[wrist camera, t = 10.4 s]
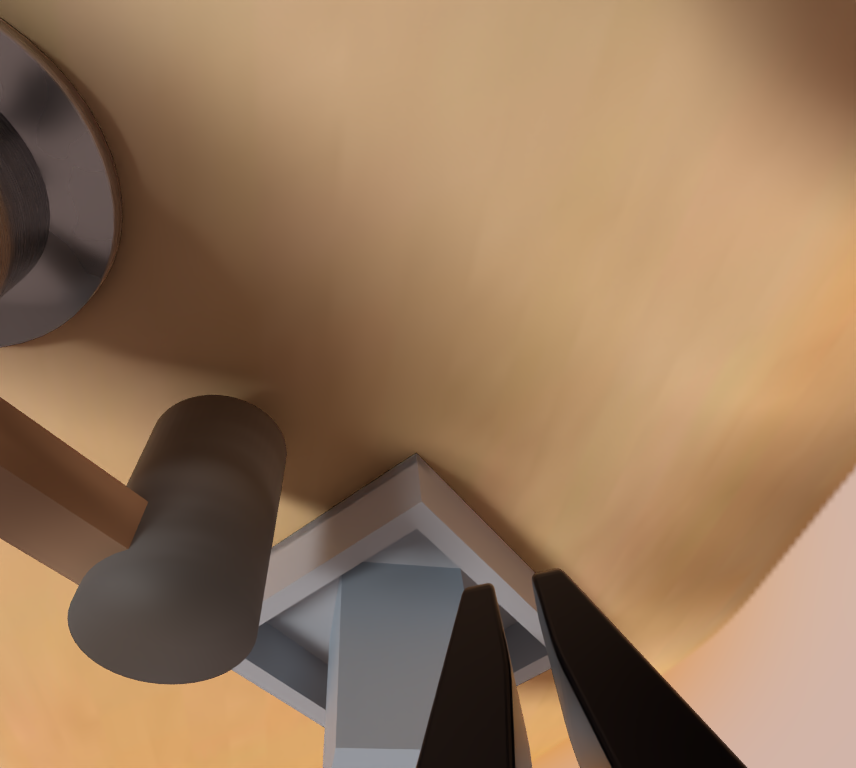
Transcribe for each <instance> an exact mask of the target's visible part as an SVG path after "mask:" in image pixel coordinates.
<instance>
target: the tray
mask: <svg viewBox="0 0 856 768" xmlns="http://www.w3.org/2000/svg"><path fill="white" fill-rule="evenodd" d="M362 562H374V563H388V564H403V565H418V566H432V567H447V568H460V569H461V575H462V581H463V586H464V589H465V588H467V587H471V586H476V585H480V584H485V583H490V584H492V585H493V586H494V588H495V592H496V597H497V601H498V606H499V610H500V615H501V619H502V624H503V628H504V632H505V637H506V642H507V646H508V651H509V655H510V660H511V664H512V669H513V673H514V678H515V682H516V686H518V685H520V684H522V683H524V682H525V681H527V680H529V679H531V678H533V677H535V676H537V675H539V674H541V673H543V672H545V671H547V670H549V669H551V666H550V662H549V658H548V654H547V650H546V646H545V642H544V638H543V634H542V631H541V626H540V622H539V618H538V613H537V607H536V602H535V596H534V590H533V585H532V576H533V575H534V574H535V572H534V571H533V570H532V569H531V568H530V567H529V566H528V565H527V564H526V563H525V562H524V561H523V560H522V559H521V558H520V557H519V556H518V555H517V554H516V553H515V552H514V551H513V550H512V549H511V548H510V547H509V546H508V545H507V544H506V543H505V542H504V541H503V540H502V539H501V538H500V537H499V536H498V535H497V534H496V533H495V532H494V531H493V530H492V529H491V528H490V527H489V526H488V525H487V524H486V523H485V522H484V521H483V520H482V519H481V518H480V517H479V516H478V515H477V514H476V513H475V512H474V511H473V510H472V509H471V508H470V507H469V506H468V505H467V504H466V503H465V502H464V501H463V500H462V499H461V498H460V497H459V496H458V495H457V494H456V493H455V492H454V491H453V490H452V489H451V488H450V487H449V486H448V485H447V484H446V483H445V482H444V481H443V480H442V479H441V478H440V476H439V475H438V474H437V473H436V472H435V471H434V470H433V469H432V468H431V467H430V466H429V465H428V464H427V463H426V462H425V461H424V460H423V459H422V458H421V457H420V456H419V455H418V454H417V453H415V454H414V455H412V456H411V457H409V458H408V459H406V460H405V461H403V462H402V463H400V464H398V465H397V466H395V467H394V468H392V469H391V470H389V471H388V472H386V473H385V474H383V475H382V476H380V477H379V478H377V479H376V480H374V481H373V482H371V483H370V484H368V485H366V486H365V487H363V488H362V489H360V490H359V491H357V492H356V493H354V494H353V495H351V496H350V497H348V498H347V499H345V500H344V501H342V502H341V503H339V504H338V505H336V506H334V507H333V508H331V509H330V510H328V511H327V512H325V513H324V514H322V515H321V516H319V517H318V518H316V519H315V520H313V521H312V522H310V523H309V524H307V525H306V526H304V527H302V528H301V529H299V530H298V531H296V532H295V533H293V534H292V535H290V536H289V537H287V538H286V539H284V540H283V541H281V542H280V543H278V544H277V545H275V546H274V547H272V549H271V555H270V561H269V567H268V573H267V579H266V585H265V591H264V597H263V604H262V610H261V616H260V622H259V628H258V634H257V639H256V642H255V645H254V647H253V649H252V651H251V652H250V653H249V655H248V656H247V657H246V658H245V659H244V660H243V661H242V662H241V663H240V664H239V665H237V666H236V667H235V668H233V669H232V670H233V671H235V672H236V673H238V674H239V675H241V676H243V677H244V678H246V679H247V680H249V681H251V682H252V683H254V684H255V685H257V686H259V687H260V688H262V689H263V690H265V691H267V692H268V693H270V694H271V695H273V696H275V697H276V698H278V699H279V700H281V701H283V702H284V703H286V704H288V705H289V706H291V707H292V708H294V709H296V710H297V711H299V712H300V713H302V714H304V715H305V716H307V717H308V718H310V719H312V720H313V721H315V722H316V723H318V724H320V725H321V726H323V727H324V728H325V716H326V697H327V678H328V659H329V640H330V634H331V627H332V621H333V615H334V609H335V603H336V597H337V591H338V584H339V578H340V576H341V575H342V574H344V573H345V572H347V571H349V570H350V569H352V568H354V567H355V566H357V565H358V564H360V563H362Z"/></svg>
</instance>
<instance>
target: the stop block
mask: <svg viewBox="0 0 856 768" xmlns="http://www.w3.org/2000/svg"><path fill="white" fill-rule="evenodd" d="M463 591H464V586H463V581H462V575H461V569H460V568H447V567H432V566H418V565H403V564H388V563H374V562H362V563H360V564H358V565H357V566H355V567H354V568H352V569H350V570H349V571H347V572H345V573H344V574H342V575H341V576H340V578H339V584H338V591H337V597H336V603H335V609H334V615H333V621H332V627H331V634H330V640H329V659H328V678H327V697H326V716H325V735H324V755H323V768H416V765H417V761H418V758H419V754H420V750H421V746H422V743H423V739H424V735H425V731H426V727H427V724H428V720H429V716H430V712H431V709H432V705H433V701H434V697H435V693H436V690H437V686H438V682H439V678H440V675H441V671H442V667H443V663H444V660H445V656H446V652H447V648H448V644H449V641H450V637H451V633H452V629H453V626H454V622H455V618H456V614H457V611H458V607H459V603H460V599H461V596H462V593H463Z"/></svg>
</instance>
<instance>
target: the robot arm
mask: <svg viewBox="0 0 856 768" xmlns="http://www.w3.org/2000/svg"><path fill="white" fill-rule="evenodd" d="M532 585H533V590H534V596H535V602H536V607H537V613H538V618H539V622H540V626H541V631H542V634H543V638H544V642H545V646H546V650H547V654H548V658H549V662H550V666H551V670H552V673H553V677H554V681H555V685H556V689H557V693H558V697H559V701H560V705H561V709H562V712H563V716H564V720H565V724H566V727H567V731H568V734H569V738H570V741H571V744H572V747H573V750H574V753H575V755H576V758H577V761H578V764H579V766H580V768H747V767H746V766H745V765H744V764H743V763H742V762H741V760H739V758H738V757H737V756H736V755H735V754H734V753H733V752H732V751H731V750H730V749H729V748H728V747H727V745H726V744H725V743H724V742H723V741H722V740H721V739H720V738H719V737H718V736H717V735H716V734H715V733H714V731H713V730H711V728H710V727H709V726H708V725H707V724H706V723H705V722H704V721H703V720H702V719H701V718H700V716H699V715H698V714H697V713H695V711H694V710H693V709H692V708H691V707H690V706H689V705H688V704H687V703H686V702H685V700H684V699H683V698H682V697H681V696H680V695H679V694H678V693H677V692H676V691H675V690H674V689H673V688H672V687H671V685H670V684H669V683H668V682H667V681H666V680H665V679H664V678H663V677H662V676H661V675H660V674H659V673H658V672H657V670H656V669H655V668H654V667H653V666H652V665H651V664H650V663H649V662H648V661H647V660H646V659H645V658H644V657H643V655H642V654H641V653H640V652H639V651H638V650H637V649H636V648H635V647H634V646H633V645H632V644H631V643H630V642H629V640H628V639H627V638H626V637H625V636H624V635H623V634H622V633H621V632H620V631H619V630H618V629H617V628H616V627H615V625H614V624H613V623H612V622H611V621H610V620H609V619H608V618H607V617H606V616H605V615H604V614H603V613H602V612H601V610H600V609H599V608H598V607H597V606H596V605H595V604H594V603H593V602H592V601H591V600H590V599H589V598H588V597H587V595H586V594H585V593H584V592H583V591H582V590H581V589H580V588H579V587H578V586H577V585H576V584H575V583H574V582H573V580H572V579H571V578H570V577H569V576H568V575H567V574H566V573H565V572H564V571H562V570H561V569H551V570H547V571H542V572H537V573H535V574H534V575H533V576H532ZM416 768H532V763H531V756H530V748H529V743H528V738H527V733H526V728H525V723H524V719H523V714H522V710H521V705H520V700H519V696H518V691H517V687H516V682H515V678H514V673H513V669H512V664H511V660H510V655H509V651H508V646H507V642H506V637H505V632H504V628H503V624H502V619H501V615H500V610H499V606H498V601H497V597H496V592H495V588H494V586H493V585H492V584H490V583H485V584H480V585H476V586H471V587H467V588H465V589H464V591H463V593H462V596H461V599H460V603H459V607H458V611H457V614H456V618H455V622H454V626H453V629H452V633H451V637H450V641H449V644H448V648H447V652H446V656H445V660H444V663H443V667H442V671H441V675H440V678H439V682H438V686H437V690H436V693H435V697H434V701H433V705H432V709H431V712H430V716H429V720H428V724H427V727H426V731H425V735H424V739H423V743H422V746H421V750H420V754H419V758H418V761H417V765H416Z"/></svg>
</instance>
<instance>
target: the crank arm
mask: <svg viewBox="0 0 856 768" xmlns="http://www.w3.org/2000/svg"><path fill="white" fill-rule="evenodd" d="M286 456H287V451H286V444H285V440H284V437H283V435H282V432H281V431H280V429H279V427H278V426H277V425H276V423H275V422H274V421H273V420H272V419H271V418H270V417H269V416H268V415H267V414H266V413H265V412H263V411H262V410H261V409H259V408H257V407H256V406H254V405H252V404H250V403H248V402H246V401H243V400H240V399H237V398H233V397H228V396H221V395H204V396H197V397H193V398H189V399H186V400H183V401H181V402H179V403H177V404H175V405H174V406H172V407H171V408H169V409H168V410H167V411H166V412H165V413H164V414H163V415H162V416H161V417H160V418H159V420H158V421H157V423H156V425H155V427H154V429H153V431H152V433H151V435H150V437H149V440H148V442H147V444H146V446H145V448H144V450H143V452H142V454H141V456H140V458H139V461H138V463H137V465H136V467H135V469H134V471H133V473H132V475H131V477H130V479H129V482H128V484H127V486H125V485H124V484H122V483H121V482H120V481H118V480H117V479H115V478H114V477H113V476H111V475H110V474H108V473H107V472H106V471H104V470H103V469H101V468H100V467H98V466H97V465H96V464H94V463H93V462H91V461H90V460H89V459H87V458H86V457H84V456H83V455H81V454H80V453H79V452H77V451H76V450H74V449H73V448H72V447H70V446H69V445H67V444H66V443H65V442H63V441H62V440H60V439H59V438H57V437H56V436H55V435H53V434H52V433H50V432H49V431H48V430H46V429H45V428H43V427H42V426H40V425H39V424H38V423H36V422H35V421H33V420H32V419H31V418H29V417H28V416H26V415H25V414H24V413H22V412H21V411H19V410H18V409H16V408H15V407H14V406H12V405H11V404H9V403H8V402H7V401H5V400H4V399H2V398H1V397H0V538H1V539H2V540H4V541H6V542H7V543H9V544H11V545H12V546H14V547H16V548H18V549H19V550H21V551H23V552H24V553H26V554H28V555H29V556H31V557H33V558H34V559H36V560H38V561H39V562H41V563H43V564H44V565H46V566H48V567H49V568H51V569H53V570H54V571H56V572H58V573H59V574H61V575H63V576H64V577H66V578H68V579H69V580H71V581H73V582H74V583H76V584H78V585H79V587H78V589H77V591H76V593H75V595H74V597H73V599H72V601H71V604H70V607H69V610H68V626H69V630H70V633H71V635H72V637H73V639H74V641H75V643H76V644H77V645H78V646H79V648H80V649H81V650H82V651H83V652H84V653H85V654H86V655H87V656H88V657H89V658H91V659H92V660H93V661H94V662H96V663H97V664H99V665H101V666H102V667H104V668H106V669H108V670H110V671H112V672H114V673H116V674H119V675H122V676H124V677H127V678H131V679H134V680H138V681H143V682H148V683H157V684H187V683H195V682H199V681H204V680H208V679H211V678H214V677H217V676H219V675H222V674H224V673H226V672H228V671H230V670H232V669H233V668H235V667H236V666H237V665H239V664H240V663H241V662H242V661H243V660H244V659H245V658H246V657H247V656H248V655H249V653H250V652H251V651H252V649H253V647H254V645H255V642H256V639H257V634H258V628H259V622H260V616H261V610H262V604H263V597H264V591H265V585H266V579H267V573H268V567H269V561H270V555H271V549H272V543H273V537H274V530H275V524H276V518H277V512H278V506H279V500H280V494H281V488H282V482H283V476H284V469H285V463H286Z"/></svg>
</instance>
